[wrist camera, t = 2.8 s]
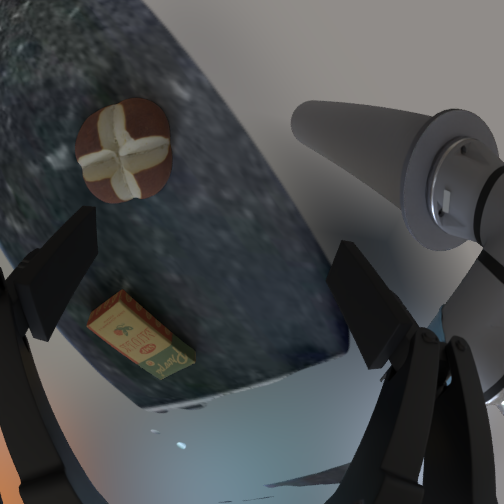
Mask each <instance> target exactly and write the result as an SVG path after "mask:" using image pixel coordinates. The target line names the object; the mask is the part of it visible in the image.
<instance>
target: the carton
mask: <svg viewBox="0 0 504 504" xmlns="http://www.w3.org/2000/svg"><path fill="white" fill-rule="evenodd" d="M87 327H88V328H89V329H90V330H92V331H93V332H94V333H95V334H97V335H98V336H99V337H101V338H102V339H103V340H104V341H106V342H107V343H108V344H110V345H111V346H112V347H114V348H115V349H117V350H118V351H119V352H121V353H122V354H123V355H125V356H126V357H128V358H129V359H130V360H132V361H133V362H135V363H136V364H138V365H139V366H140V367H142V368H143V369H145V370H146V371H148V372H149V373H151V374H153V375H154V376H156V377H157V378H159V379H161V380H162V379H163V378H165V377H167V376H169V375H171V374H173V373H175V372H177V371H179V370H181V369H183V368H185V367H187V366H189V365H191V364H193V363H195V361H196V352H195V351H194V350H193V349H192V348H191V347H189V346H188V345H187V344H185V343H184V342H183V341H182V340H180V339H179V338H178V337H177V336H175V335H174V334H173V333H172V332H171V331H169V330H168V329H167V328H166V327H165V326H164V325H162V324H161V323H160V322H159V321H158V320H157V319H155V318H154V317H153V316H152V315H151V314H150V313H149V312H148V311H146V310H145V309H144V308H143V307H142V306H141V305H140V304H139V303H137V302H136V301H135V300H134V299H133V298H132V297H131V296H130V295H128V294H127V293H126V292H125V291H124V290H123V289H122V290H120V291H119V292H118V293H116V294H115V295H114V296H112V297H111V298H110V299H108V300H107V301H106V302H104V303H103V304H101V305H100V306H99V307H98V308H96V309H95V310H94V311H92V312H91V314H90V317H89V320H88V323H87Z"/></svg>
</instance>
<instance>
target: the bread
mask: <svg viewBox="0 0 504 504" xmlns="http://www.w3.org/2000/svg"><path fill="white" fill-rule="evenodd" d="M75 155H76V158H77V161H78V162H79V164H80V165H81V167H82V168H83V178H84V180H85V183H86V185H87V187H88V188H89V190H90V191H91V192H92V193H93V194H94V195H95V196H96V197H97V198H99V199H100V200H102V201H104V202H107V203H121V202H125V201H128V200H131V199H132V198H135V197H138V198H140V199H144V198H148V197H151V196H153V195H155V194H156V193H158V192H159V191H160V190H161V189H162V188H163V187H164V185H165V184H166V182H167V180H168V178H169V176H170V173H171V169H172V151H171V145H170V128H169V123H168V120H167V118H166V115H165V114H164V112H163V111H162V109H161V108H160V107H159V106H158V105H156V104H155V103H153V102H151V101H149V100H147V99H142V98H131V99H126V100H123V101H121V102H120V103H118V104H114V105H110V106H107V107H104V108H102V109H100V110H98V111H97V112H95V113H93V114H92V115H91V116H89V117H88V118H87V119H86V121H85V122H84V123H83V125H82V127H81V129H80V131H79V133H78V136H77V139H76V144H75Z"/></svg>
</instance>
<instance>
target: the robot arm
mask: <svg viewBox="0 0 504 504" xmlns="http://www.w3.org/2000/svg"><path fill="white" fill-rule="evenodd" d="M425 199H426V207H427V211H428V214H429V216H430V218H431V220H432V221H433V223H434V224H435V225H436V226H438V227H439V228H440V229H441V230H443V231H444V232H445V233H447V234H449V235H453V236H457V237H461V238H464V239H468V240H471V241H474V242H477V243H478V244H480V245H481V246H482V247H483V250H482V251H481V253H480V255H479V256H478V258H477V259H476V261H475V263H474V264H473V265H472V267H471V269H470V270H469V272H468V273H467V275H466V276H465V277H464V279H463V280H462V282H461V283H460V285H459V286H458V287H457V289H456V290H455V292H454V293H453V294H452V296H451V297H450V298H449V300H448V301H447V302H446V304H444V305H442V306H441V307H440V309H439V312H438V314H437V315H436V316H435V318H434V319H433V321H432V322H431V323H430V325H429V326H428V328H423V327H419V326H418V324H417V323H416V321H415V320H414V319H413V317H412V316H411V314H410V313H409V311H408V310H406V309H407V308H406V307H405V306H404V305H403V303H402V301H401V300H400V299H399V297H398V296H397V295H396V294H395V293H393V292H392V291H391V290H389V288H388V287H387V286H386V284H385V283H384V281H383V280H382V279H381V278H380V276H379V275H378V274H377V272H376V271H375V269H374V268H373V267H372V266H371V264H370V263H369V262H368V260H367V259H366V258H365V257H364V255H363V254H362V253H361V252H360V250H359V249H358V248H357V247H356V245H355V244H354V243H353V242H349V241H343V240H341V243H340V246H339V248H338V251H337V253H336V256H335V258H334V261H333V264H332V266H331V269H330V271H329V274H328V276H327V279H326V283H327V285H328V287H329V288H330V290H331V292H332V294H333V296H334V298H335V300H336V302H337V304H338V306H339V308H340V310H341V312H342V314H343V317H344V319H345V321H346V323H347V325H348V327H349V329H350V331H351V333H352V335H353V337H354V339H355V341H356V344H357V346H358V348H359V350H360V352H361V354H362V356H363V359H364V361H365V363H366V365H367V367H368V369H379V368H382V367H383V366H384V365H385V363H386V362H387V361H388V359H389V360H390V362H391V364H392V365H391V366H390V368H389V369H388V370H387V372H386V373H385V374H384V376H383V377H382V378H381V379H380V381H381V382H382V380H383V379H385V380H384V383H383V386H382V389H381V392H380V395H379V398H378V401H377V404H376V406H375V409H374V411H373V414H372V416H371V419H370V421H369V424H368V426H367V429H366V431H365V433H364V436H363V438H362V440H361V442H360V445H359V447H358V449H357V451H356V453H355V455H354V458H353V460H352V462H351V464H350V466H349V468H348V470H347V472H346V474H345V476H344V477H343V479H342V481H341V483H340V485H339V487H338V488H337V490H336V492H335V493H334V494H333V495H332V496H331V497H330V498H329V499H328V500H327V501H326V502H325V503H324V504H498V502H497V498H496V483H495V464H494V453H493V445H492V437H491V430H490V424H489V419H488V413H487V408H486V405H496V406H497V407H498V409H499V410H500V411H501V413H502V414H503V415H504V162H503V161H502V160H501V159H500V158H499V157H498V156H497V155H495V154H494V153H493V152H492V151H491V150H490V149H489V148H488V147H487V146H486V145H485V144H484V143H482V142H481V141H479V140H477V139H474V138H471V137H468V136H457V137H454V138H452V139H450V140H449V141H448V142H446V143H445V144H444V145H443V146H442V147H441V149H440V150H439V151H438V153H437V154H436V156H435V158H434V160H433V162H432V164H431V167H430V170H429V173H428V177H427V182H426V190H425ZM97 254H98V246H97V231H96V207H91V206H82V207H81V208H80V209H79V210H78V211H77V212H76V213H75V214H74V215H73V216H72V217H71V218H70V219H69V220H68V221H67V222H66V223H65V224H64V225H63V226H62V227H61V228H60V229H59V230H58V231H57V232H56V233H55V234H54V235H53V236H52V237H51V238H50V239H49V240H48V241H47V242H46V243H45V244H44V246H43V247H42V248H41V249H38V248H37V249H35V250H33V251H32V252H30V253H29V254H28V255H27V256H26V257H25V258H24V259H23V260H22V262H20V264H19V265H18V267H16V268H15V269H14V271H13V272H12V273H11V274H10V275H9V277H8V278H7V279H6V280H5V278H4V275H3V272H2V269H1V267H0V427H1V430H2V433H3V436H4V438H5V442H6V445H7V447H8V450H9V453H10V455H11V458H12V460H13V463H14V465H15V467H16V470H17V472H18V474H19V477H20V480H21V484H20V486H19V493H20V496H21V498H22V500H23V503H24V504H108V502H107V501H106V500H105V499H104V498H103V496H102V495H101V494H100V493H99V492H98V491H97V490H96V488H95V487H94V486H93V484H92V483H91V481H90V480H89V478H88V477H87V475H86V473H85V472H84V470H83V468H82V467H81V465H80V463H79V462H78V460H77V458H76V457H75V455H74V453H73V451H72V449H71V448H70V446H69V444H68V442H67V440H66V438H65V436H64V434H63V432H62V430H61V428H60V426H59V424H58V422H57V420H56V418H55V415H54V413H53V411H52V408H51V406H50V404H49V401H48V399H47V396H46V394H45V391H44V389H43V386H42V383H41V381H40V378H39V375H38V372H37V369H36V366H35V363H34V360H33V357H32V353H31V350H30V347H29V343H28V340H27V337H26V335H25V334H26V332H27V330H28V328H29V329H30V331H31V333H32V336H33V338H36V339H39V340H43V341H46V342H48V341H49V339H50V337H51V335H52V333H53V331H54V329H55V327H56V325H57V323H58V321H59V319H60V317H61V316H62V314H63V312H64V310H65V308H66V306H67V305H68V303H69V301H70V299H71V297H72V296H73V294H74V292H75V290H76V289H77V287H78V285H79V284H80V282H81V280H82V278H83V277H84V275H85V274H86V272H87V270H88V269H89V267H90V265H91V264H92V262H93V261H94V259H95V258H96V256H97ZM423 458H424V472H423V486H422V485H420V484H418V476H419V473H420V470H421V466H422V462H423ZM0 504H3V501H2V498H1V494H0Z"/></svg>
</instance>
